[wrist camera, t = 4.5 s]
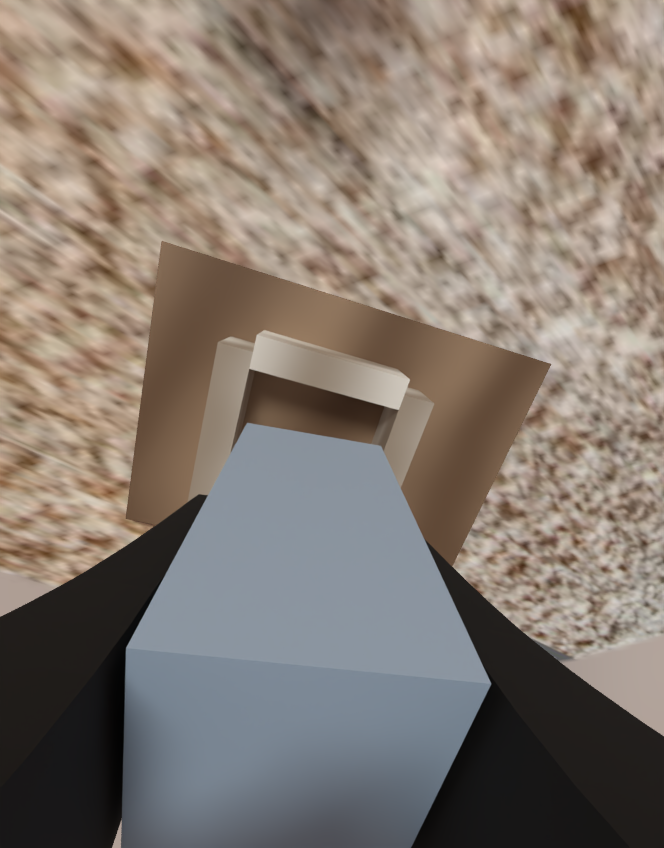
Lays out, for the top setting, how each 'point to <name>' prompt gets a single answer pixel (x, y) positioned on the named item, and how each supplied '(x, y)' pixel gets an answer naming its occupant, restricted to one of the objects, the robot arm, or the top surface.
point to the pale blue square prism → (296, 662)
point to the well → (319, 390)
